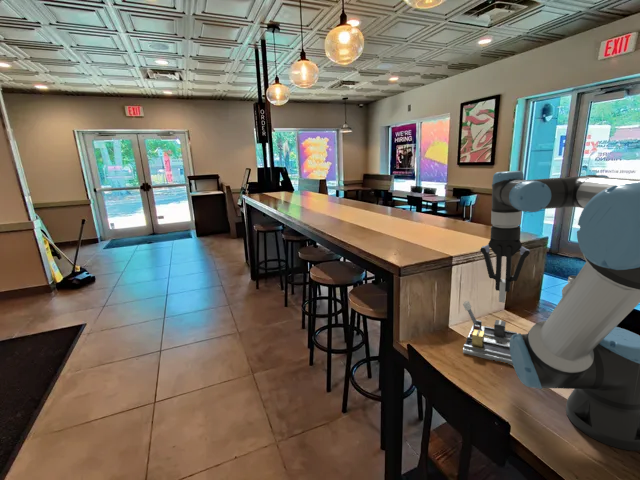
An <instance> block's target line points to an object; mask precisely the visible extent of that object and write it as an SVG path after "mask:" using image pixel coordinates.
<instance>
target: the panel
mask: <svg viewBox="0 0 640 480" xmlns="http://www.w3.org/2000/svg"><path fill="white" fill-rule="evenodd" d="M476 321H477V323H478V324H479V325H474V324H472V325H471V326H472V327H471V329H470V331H469V334H468V336H467V337H466V341H465V343H464V344H463V348H462V353H463V354H465V355H466V354H467V355H470V356H473V357H478V358H482V359H486V360H490V361H493V360H495V361H494V362H497V361H501V362H505V363H508V364H507V365H509V364H511V365H510V366H513V363H512V359H511V354H510V338H511V336H512V335H514V334H518V333H519V332H516V331H512V330H506V329H505V335H504V337H500V336H495V335H494V327H490V326H483V325H482V323H483V321H482V320H478V319H476ZM474 330H480V331H484V345H483V348H479V347H475V346H472V334H473V332H474ZM501 362H500V363H501ZM505 363H504V364H505Z"/></svg>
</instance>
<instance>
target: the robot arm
mask: <svg viewBox="0 0 640 480" xmlns="http://www.w3.org/2000/svg"><path fill="white" fill-rule="evenodd" d="M524 176H525V175H524V172H523V171H522V170H511V171H509V170H508V171H506V170H505V171H497V172H495V173H494V174H493V176H492V183H491V188H492V189H491V215H490V216H491V217H490V220H491V221H490V224H491V226H490V239H489V241H488V244H486V245H482V247H481V248H480V250H479V251H480V253H481V254H482V255H483V257H484V258H483V259H484V262H485V267H486V270H487V274H488V277H489V278H490V279H493V280H494V281H495V291H499V293H498V302H499V303H505V302H506V295H507V294H506V293H510V291H511V283H512V282H516V281H518V279H519V276H520V274H521V271H522V268H523V265H524V264H525V260H526V258H527V257H529V255H530V253H531V249H530V248H526V247H525V246H522V242H521V229H522V227H521V226H520V225H522V212H525V213H527V212H529V213H536V212H539V211H541V210H545V209H562V208H581V209H582V211H581V213H580V216H579V217H578V222H577V225H578V226H579V229H578V230H577V231H576V239H577V243H578V247H579V249H580V252H581V253H582V255H583V258H584V260H585V264H583V266H582V268H581V269H580V270H579V272H578V273H577V275H576V276H577V277H576V278H575V279H574V281H573V282H572V284H571V285H570V287H569V288H568V290H567V291H566V293H565V294H564V296H563V297H562V296H561V297H562V298H560V300H559V302H558V303H557V305H556V306H555V308H554V309H553V311H552V312H551V314H550V315H549V316H548V317H547V320H543V321H539V322H536V323H535V324H534V325H532V327H531V328H530V330H529V331H528V333H522V334H521V333H520V332H517V333H518V334H514V335H512V336H511V338H510V354H511V359H512V363H513V365H512V366H513V368H514V370H515V371H514V372H515V374H516V375H517V377H518V379H519V381H520V383H522V384H523V385H524V386H525V387H527V388H532V389H540V390H542V389H565V390H566V389H567V390H570V389H571V390H572V389H573V390H572V392H571V393H569V394H570V395H569V396H568V397H567V399H566V405H565V413H566V416H567V417H568V419H569V420H570V421H571V423H572V424H573V425H574V426H575V427H576V428H577V429H579V431H580V432H582V433H584V434H585V435H587V436H588V437H590V438H592V439H593V440H595V441H598V442H600V443H602V444H604V445H606V446H609V447H613V448H616V449H620V450H626V451H640V335H639V334H637V333H635V332H633V331H630V330H628V329H625V328H623V327H622V328H621V327H619V326H618V325H619V324H620V323H621V322H622V321H623V320H624V319H625V318H627V316H628V315H629V314H630V313H631V312H632V311H633V310H634V309H635V308H636V307H637V306H638V305H639V304H640V179H638V178H637V179H636V178H621V177H620V178H619V177H610V176H608V175H604V174H587V175H581V176H568V177H567V176H566V177H554V178H553V177H552V178H550V177H549V178H537V179H525V177H524ZM490 251H492V252H493V253H494V254H495V256H496V258H495V259H496V260H495V261H496V262H495V271H494V266H493V263H492V262H493V261H492V258H491V254H490ZM518 252H519V255H520V256H519V259H518V262H517V265H516V268H515V271H514V273H513V275H512V262H513V261H512V260H513V256H515V255H516V254H517V253H518ZM503 257H504V258H506V259H505V279H503V278H502V266H503V265H502V264H503Z"/></svg>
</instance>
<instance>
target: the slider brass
mask: <svg viewBox="0 0 640 480" xmlns="http://www.w3.org/2000/svg"><path fill="white" fill-rule="evenodd" d="M483 345H484V331H480V330H474V332H473V334H472V346H475V347H479V348H483Z"/></svg>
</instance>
